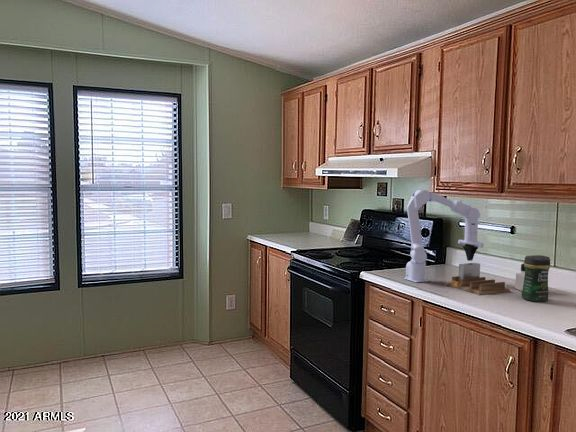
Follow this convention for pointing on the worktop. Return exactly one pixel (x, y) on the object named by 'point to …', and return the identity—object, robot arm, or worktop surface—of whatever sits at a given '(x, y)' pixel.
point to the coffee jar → (536, 278)
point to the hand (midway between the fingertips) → (469, 260)
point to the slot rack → (478, 285)
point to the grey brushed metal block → (468, 271)
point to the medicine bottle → (520, 278)
